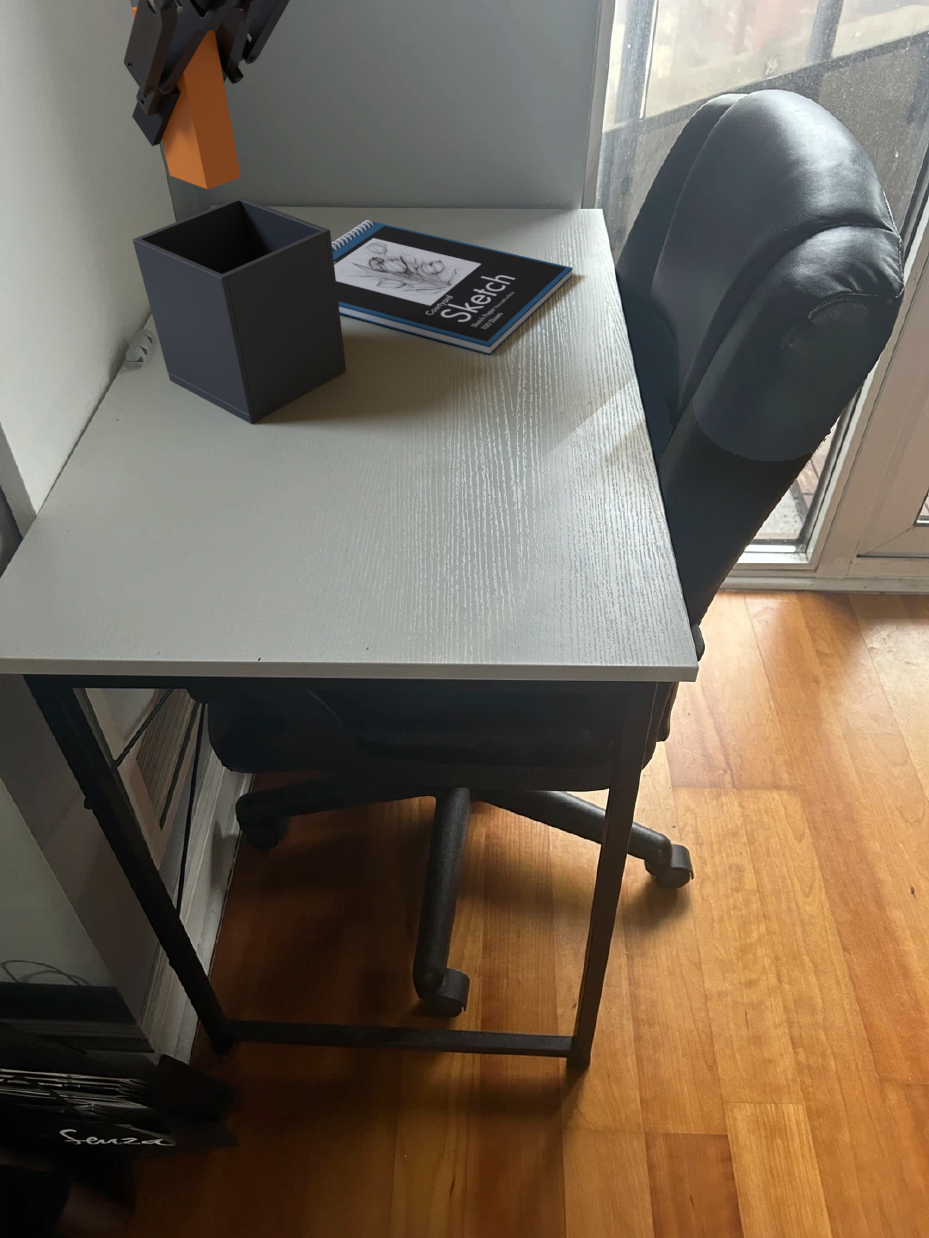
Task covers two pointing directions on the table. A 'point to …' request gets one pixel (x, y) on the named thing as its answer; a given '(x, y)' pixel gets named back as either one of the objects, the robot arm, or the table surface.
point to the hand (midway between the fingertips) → (167, 123)
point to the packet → (201, 123)
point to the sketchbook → (439, 285)
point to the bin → (244, 305)
